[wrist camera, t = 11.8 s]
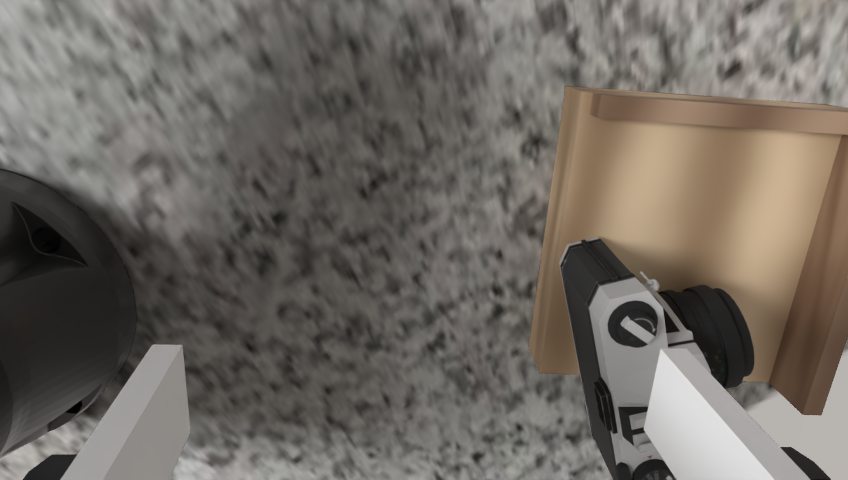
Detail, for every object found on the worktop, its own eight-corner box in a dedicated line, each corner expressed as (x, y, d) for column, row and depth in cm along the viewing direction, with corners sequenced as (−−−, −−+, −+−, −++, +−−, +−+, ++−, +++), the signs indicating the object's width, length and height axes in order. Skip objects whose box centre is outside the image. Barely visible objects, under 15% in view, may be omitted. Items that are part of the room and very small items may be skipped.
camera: (721, 415, 35) (828, 528, 26) (588, 453, 35) (651, 577, 26) (679, 201, 31) (786, 247, 23) (533, 244, 32) (583, 307, 23)
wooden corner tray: (528, 345, 36) (552, 405, 30) (565, 86, 31) (603, 99, 25) (756, 355, 37) (821, 415, 31) (827, 104, 32) (919, 120, 26)
